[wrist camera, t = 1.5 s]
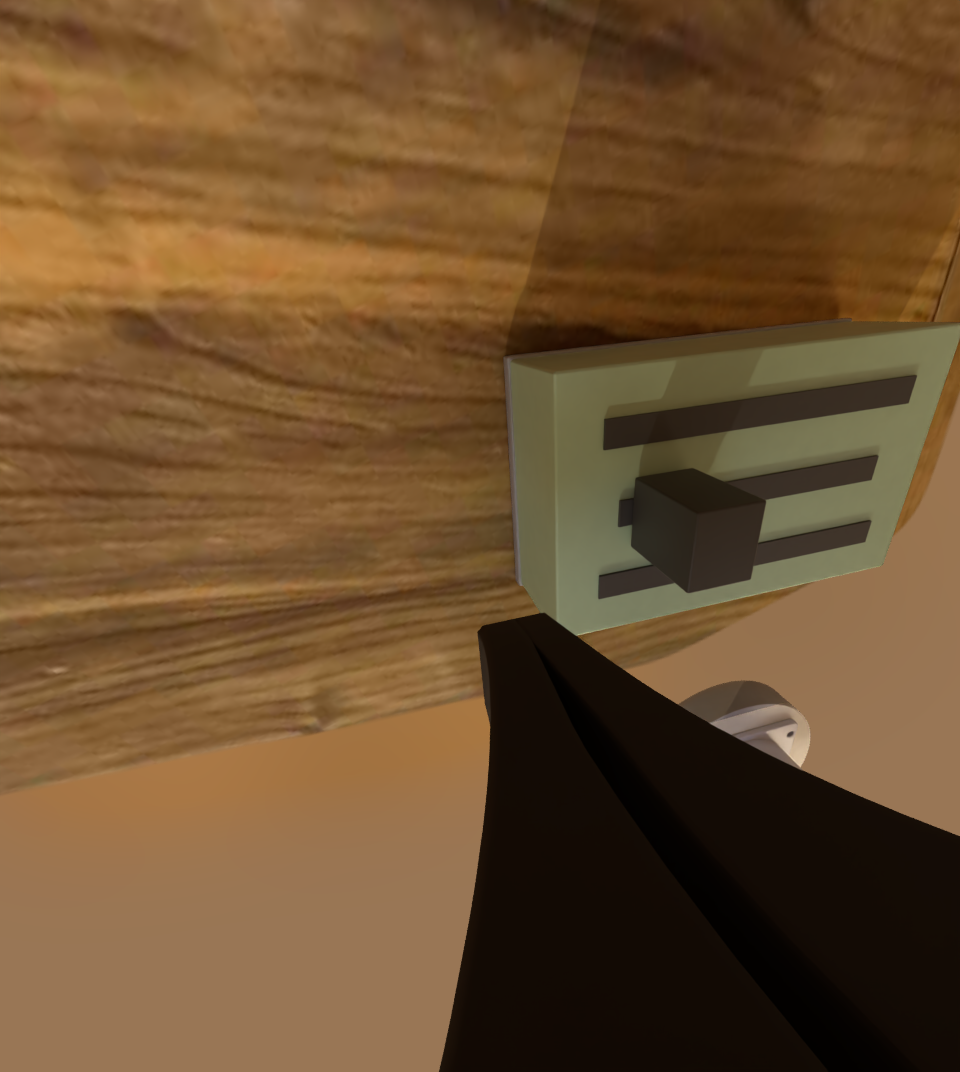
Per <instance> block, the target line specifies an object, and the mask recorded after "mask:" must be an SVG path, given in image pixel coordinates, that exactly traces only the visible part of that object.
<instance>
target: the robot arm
mask: <svg viewBox="0 0 960 1072" xmlns="http://www.w3.org/2000/svg"><path fill="white" fill-rule="evenodd" d="M478 641H479V651H480V660H481V670H482V680H483V689H484V699H485V705H486V709H487V713H488V717H489V722H490V754H489V771H488V784H487V795H486V805H485V814H484V825H483V833H482V839H481V846H480V854H479V861H478V869H477V875H476V882H475V889H474V895H473V901H472V907H471V914H470V919H469V924H468V930H467V935H466V940H465V946H464V951H463V957H462V961H461V967H460V972H459V977H458V983H457V988H456V993H455V998H454V1004H453V1009H452V1014H451V1019H450V1024H449V1029H448V1033H447V1038H446V1043H445V1048H444V1052H443V1057H442V1061H441V1066H440V1070H439V1072H960V836H958V835H955V834H952V833H950V832H947V831H945V830H942V829H940V828H937V827H934V826H932V825H929V824H927V823H924V822H922V821H919V820H917V819H914V818H911V817H909V816H906V815H904V814H901V813H899V812H896V811H894V810H892V809H889V808H887V807H884V806H882V805H880V804H877V803H875V802H873V801H870V800H868V799H865V798H863V797H860V796H858V795H856V794H853V793H851V792H849V791H847V790H844V789H842V788H840V787H838V786H836V785H834V784H831V783H829V782H827V781H824V780H823V779H820V778H818V777H816V776H814V775H811V774H809V773H807V772H805V771H803V770H802V769H801V768H800V767H799V766H798V765H797V764H796V763H795V762H794V761H793V760H792V759H791V758H790V756H789V755H790V751H791V748H792V745H793V741H794V738H795V735H796V731H797V728H798V724H797V722H796V721H794V720H793V719H786V720H783V721H779V722H776V723H772V724H769V725H765V726H762V727H758V728H755V729H751V730H748V731H744V732H741V733H737V734H734V735H731V734H729V733H727V732H725V731H723V730H721V729H719V728H717V727H715V726H714V725H712V724H710V723H708V722H707V721H705V720H703V719H701V718H699V717H698V716H696V715H694V714H692V713H691V712H689V711H687V710H686V709H684V708H682V707H681V706H679V705H678V704H676V703H674V702H673V701H671V700H669V699H668V698H666V697H664V696H663V695H661V694H659V693H658V692H656V691H654V690H653V689H652V688H650V687H648V686H647V685H645V684H644V683H642V682H641V681H639V680H638V679H636V678H635V677H633V676H632V675H630V674H629V673H627V672H626V671H625V670H623V669H622V668H620V667H619V666H617V665H616V664H614V663H613V662H611V661H610V660H609V659H607V658H606V657H604V656H603V655H602V654H600V653H599V652H597V651H596V650H595V649H593V648H592V647H591V646H589V645H588V644H586V643H585V642H584V641H582V640H581V639H580V638H578V637H577V636H576V635H574V634H573V633H572V632H570V631H569V630H568V629H566V628H565V627H564V626H562V625H561V624H560V623H558V622H557V621H555V620H554V619H553V618H551V617H550V616H549V615H547V614H546V613H545V612H544V613H539V614H535V615H530V616H525V617H521V618H516V619H512V620H507V621H502V622H498V623H493V624H488V625H484V626H482V627H481V629H480V630H479V631H478Z"/></svg>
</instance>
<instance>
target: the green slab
mask: <svg viewBox="0 0 960 1072" xmlns="http://www.w3.org/2000/svg"><path fill="white" fill-rule="evenodd" d="M959 339H960V322H858V321H852V319H851V318H840V319H831V320H822V321H813V322H804V323H795V324H786V325H777V326H768V327H759V328H750V329H741V330H732V331H723V332H714V333H705V334H696V335H687V336H678V337H669V338H660V339H651V340H642V341H633V342H624V343H616V344H607V345H598V346H589V347H580V348H571V349H562V350H553V351H544V352H535V353H526V354H517V355H508V356H504V374H505V391H506V409H507V427H508V445H509V463H510V481H511V499H512V516H513V534H514V552H515V570H516V581H517V583H518V584H519V585H520V586H521V585H523V586H524V587H525V589H526V590H527V592H528V594H529V595H530V597H531V598H532V600H533V602H534V603H535V605H536V606H537V608H538V610H539V611H540V613H544V612H545V613H546V614H547V615H549V616H550V617H551V618H553V619H554V620H555V621H557V622H558V623H560V624H561V625H562V626H564V627H565V628H566V629H568V630H569V631H570V632H572V633H573V634H574V635H576V636H577V635H581V634H586V633H590V632H594V631H599V630H603V629H607V628H612V627H616V626H621V625H625V624H629V623H634V622H638V621H643V620H647V619H651V618H656V617H660V616H665V615H669V614H673V613H678V612H682V611H686V610H691V609H695V608H700V607H704V606H708V605H713V604H717V603H722V602H726V601H730V600H735V599H739V598H744V597H748V596H752V595H757V594H761V593H766V592H770V591H774V590H779V589H783V588H787V587H792V586H796V585H801V584H805V583H809V582H814V581H818V580H822V579H827V578H831V577H836V576H840V575H844V574H848V573H853V572H857V571H862V570H866V569H870V568H875V567H879V566H882V565H883V563H884V560H885V557H886V554H887V551H888V548H889V545H890V542H891V539H892V536H893V534H894V531H895V528H896V525H897V522H898V519H899V516H900V513H901V510H902V507H903V504H904V501H905V498H906V495H907V492H908V489H909V486H910V483H911V481H912V478H913V475H914V472H915V469H916V466H917V463H918V460H919V457H920V454H921V451H922V448H923V445H924V442H925V439H926V436H927V433H928V430H929V428H930V425H931V422H932V419H933V416H934V413H935V410H936V407H937V404H938V401H939V398H940V395H941V392H942V389H943V386H944V383H945V380H946V377H947V374H948V372H949V369H950V366H951V363H952V360H953V357H954V354H955V351H956V348H957V345H958V342H959ZM689 468H694V469H697V470H699V471H701V472H703V473H706V474H708V475H710V476H712V477H715V478H717V479H719V480H721V481H724V482H726V483H728V484H730V485H733V486H735V487H737V488H739V489H742V490H744V491H746V492H748V493H751V494H753V495H755V496H757V497H760V498H762V499H764V500H766V507H765V512H764V517H763V522H762V527H761V532H760V537H759V542H758V547H757V552H756V557H755V561H754V566H753V571H752V576H751V579H750V580H748V581H743V582H739V583H734V584H730V585H725V586H721V587H716V588H712V589H707V590H702V591H698V592H693V593H686V592H685V591H684V590H683V589H681V588H680V587H679V586H678V585H677V584H675V583H674V582H673V581H672V580H671V579H669V578H668V577H667V576H666V575H665V574H663V573H662V572H661V571H660V570H658V569H657V568H656V567H655V566H654V565H652V564H651V563H650V562H649V561H648V560H646V559H645V558H644V557H643V556H642V555H640V554H639V553H638V552H637V551H636V550H634V549H633V548H632V547H631V536H632V521H633V506H634V491H635V478H636V477H642V476H647V475H653V474H659V473H665V472H671V471H677V470H683V469H689Z"/></svg>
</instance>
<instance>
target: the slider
mask: <svg viewBox="0 0 960 1072" xmlns="http://www.w3.org/2000/svg"><path fill="white" fill-rule="evenodd" d="M765 507H766V500H764V499H762V498H760V497H757V496H755V495H753V494H751V493H748V492H746V491H744V490H742V489H739V488H737V487H735V486H733V485H730V484H728V483H726V482H724V481H721V480H719V479H717V478H715V477H712V476H710V475H708V474H706V473H703V472H701V471H699V470H697V469H694V468H689V469H683V470H677V471H671V472H665V473H659V474H653V475H647V476H642V477H636V478H635V491H634V506H633V521H632V536H631V547H632V548H633V549H634V550H636V551H637V552H638V553H639V554H640V555H642V556H643V557H644V558H645V559H646V560H648V561H649V562H650V563H651V564H652V565H654V566H655V567H656V568H657V569H658V570H660V571H661V572H662V573H663V574H665V575H666V576H667V577H668V578H669V579H671V580H672V581H673V582H674V583H675V584H677V585H678V586H679V587H680V588H681V589H683V590H684V591H685V592H686V593H693V592H698V591H702V590H707V589H712V588H716V587H721V586H725V585H730V584H734V583H739V582H743V581H748V580H750V579H751V576H752V571H753V566H754V561H755V557H756V552H757V547H758V542H759V537H760V532H761V527H762V522H763V517H764V512H765Z"/></svg>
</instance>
